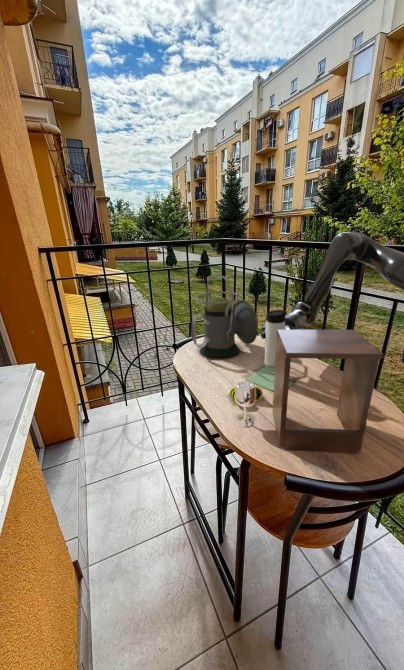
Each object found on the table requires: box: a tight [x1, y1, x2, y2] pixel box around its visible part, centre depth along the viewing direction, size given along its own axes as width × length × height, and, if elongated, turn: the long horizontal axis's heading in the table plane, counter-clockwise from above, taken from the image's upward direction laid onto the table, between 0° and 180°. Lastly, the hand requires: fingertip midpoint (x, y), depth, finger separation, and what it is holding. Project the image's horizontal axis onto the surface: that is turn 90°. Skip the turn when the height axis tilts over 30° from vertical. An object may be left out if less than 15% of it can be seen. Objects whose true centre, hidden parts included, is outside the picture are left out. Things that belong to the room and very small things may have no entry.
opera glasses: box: [228, 385, 264, 405], centre depth 89 cm, size 10×5×5 cm, turn 106°
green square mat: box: [244, 366, 296, 393], centre depth 102 cm, size 14×14×1 cm
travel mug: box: [264, 309, 288, 370], centre depth 96 cm, size 6×7×20 cm
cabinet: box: [272, 329, 384, 455], centre depth 71 cm, size 15×19×26 cm
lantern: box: [190, 273, 259, 361], centre depth 122 cm, size 25×29×35 cm
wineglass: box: [235, 380, 257, 428], centre depth 78 cm, size 6×6×12 cm
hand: (272, 338), depth 94 cm, fingers closed on travel mug, 6 cm apart
